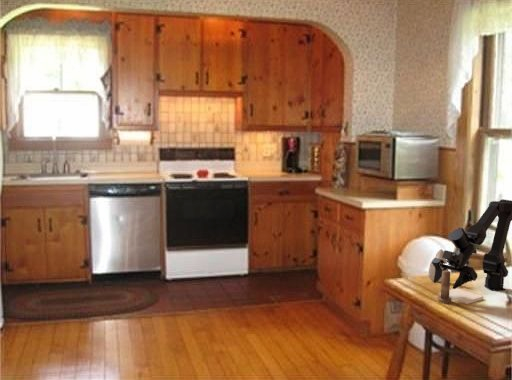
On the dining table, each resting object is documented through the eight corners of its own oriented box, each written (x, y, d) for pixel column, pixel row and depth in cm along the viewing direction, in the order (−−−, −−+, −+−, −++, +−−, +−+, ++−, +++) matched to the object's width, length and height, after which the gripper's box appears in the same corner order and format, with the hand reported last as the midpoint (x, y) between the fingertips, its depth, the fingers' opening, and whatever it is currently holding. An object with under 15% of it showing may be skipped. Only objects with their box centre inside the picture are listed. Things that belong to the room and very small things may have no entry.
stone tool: (447, 281, 246) (449, 249, 244) (447, 283, 243) (449, 250, 241) (428, 279, 249) (429, 247, 247) (427, 281, 246) (429, 248, 244)
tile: (456, 290, 232) (456, 288, 232) (483, 299, 221) (483, 296, 221) (439, 295, 226) (439, 292, 226) (466, 304, 215) (466, 301, 215)
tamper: (443, 298, 221) (445, 269, 220) (453, 302, 217) (455, 272, 216) (435, 300, 219) (437, 270, 217) (445, 304, 214) (447, 273, 213)
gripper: (435, 238, 225) (416, 268, 220) (474, 247, 209) (455, 279, 205) (446, 255, 230) (428, 284, 226) (485, 264, 215) (466, 296, 210)
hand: (443, 285), depth 216 cm, fingers open, 9 cm apart
